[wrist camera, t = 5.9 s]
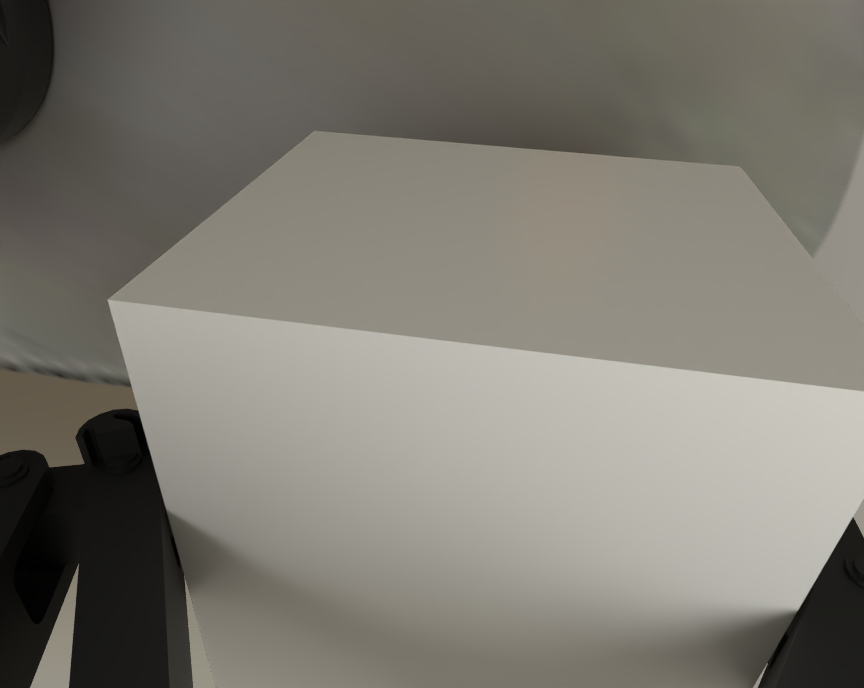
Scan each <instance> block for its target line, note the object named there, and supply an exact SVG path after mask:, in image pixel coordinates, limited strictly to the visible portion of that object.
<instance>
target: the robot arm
mask: <svg viewBox="0 0 864 688" xmlns="http://www.w3.org/2000/svg"><path fill="white" fill-rule="evenodd" d="M51 59H52V36H51V25H50V18H49V12H48V7H47V2H46V0H0V143H1V142H3V141H5V140H7V139H9V138H11V137H12V136H14V135H15V134H17V133H18V132H19V131H20V130H21V129H23V128H24V127H25V125H26V124H27V123H28V122H29V121H30V120H31V118H32V117H33V116H34V114H35V113H36V111H37V109H38V108H39V106H40V104H41V102H42V99H43V97H44V94H45V91H46V88H47V85H48V80H49V76H50V69H51ZM76 441H77V443H78V446H79V449H80V452H81V454H82V457H83V460H84V463H85V464H82V465H72V466H61V467H51V468H49V466H48V463H47V461H46V459H45V457H44V455H42V454H40V453H38V452H36V451H31V450H19V451H13V452H8V453H5V454H3V455H0V688H30V686H31V684H32V681H33V679H34V676H35V673H36V671H37V668H38V666H39V663H40V661H41V658H42V655H43V653H44V650H45V648H46V645H47V643H48V640H49V638H50V635H51V633H52V630H53V627H54V625H55V622H56V620H57V617H58V615H59V612H60V610H61V607H62V604H63V602H64V599H65V597H66V594H67V592H68V589H69V587H70V584H71V581H72V579H73V576H74V574H75V571H76V569H77V566H78V564H79V571H78V584H77V596H76V608H75V609H76V610H75V621H74V633H73V645H72V658H71V671H70V682H69V688H193V681H192V669H191V656H190V643H189V630H188V619H187V618H188V617H187V605H186V592H185V580H184V572H183V568H182V565H181V561H180V557H179V554H178V550H177V547H176V543H175V540H174V536H173V532H172V529H171V525H170V522H169V518H168V514H167V511H166V507H165V504H164V500H163V497H162V493H161V489H160V486H159V482H158V479H157V475H156V472H155V468H154V464H153V461H152V457H151V454H150V450H149V446H148V443H147V439H146V436H145V432H144V429H143V425H142V421H141V418H140V414H139V411H137V410H131V409H119V410H112V411H108V412H105V413H102V414H99V415H97V416H96V417H94V418H92V419H90V420H88V421H87V422H86V423H85V424H84V425H83V426H82V427H81V428H80V429H79V431H78V433H77V435H76ZM767 663H768V665H767V667H766V669H765V672H764V674H763V677H762V679H761V681H760V684H759V686H758V688H864V537H863V535H862V533H861V531H860V530H859V527H858V525H857V524H856V522H855V520H854V518H852V519H851V521H850V523H849V524H848V526H847V528H846V529H845V531H844V533H843V535H842V536H841V538H840V540H839V541H838V543H837V545H836V546H835V548H834V550H833V552H832V553H831V555H830V557H829V558H828V560H827V562H826V564H825V565H824V567H823V569H822V570H821V572H820V574H819V575H818V577H817V579H816V581H815V582H814V584H813V586H812V587H811V589H810V591H809V593H808V594H807V596H806V598H805V599H804V601H803V603H802V604H801V606H800V608H799V610H798V611H797V613H796V615H795V616H794V618H793V620H792V621H791V623H790V625H789V627H788V628H787V630H786V632H785V633H784V635H783V637H782V639H781V640H780V642H779V644H778V645H777V647H776V649H775V650H774V652H773V654H772V656H771V657H770V659H769V661H768V662H767Z"/></svg>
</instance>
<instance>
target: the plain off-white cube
mask: <svg viewBox="0 0 864 688" xmlns="http://www.w3.org/2000/svg"><path fill="white" fill-rule="evenodd" d="M108 303H109V307H110V310H111V314H112V318H113V321H114V325H115V328H116V332H117V335H118V339H119V343H120V346H121V350H122V353H123V357H124V361H125V364H126V368H127V371H128V375H129V378H130V382H131V386H132V389H133V393H134V396H135V400H136V403H137V407H138V411H139V414H140V418H141V421H142V425H143V429H144V432H145V436H146V439H147V443H148V446H149V450H150V454H151V457H152V461H153V464H154V468H155V472H156V475H157V479H158V482H159V486H160V489H161V493H162V497H163V500H164V504H165V507H166V511H167V514H168V518H169V522H170V525H171V529H172V532H173V536H174V540H175V543H176V547H177V550H178V554H179V557H180V561H181V565H182V568H183V572H184V575H185V579H186V582H187V586H188V590H189V593H190V596H191V600H192V604H193V608H194V611H195V614H196V618H197V621H198V625H199V628H200V633H201V636H202V639H203V643H204V647H205V651H206V654H207V658H208V661H209V664H210V668H211V672H212V675H213V679H214V683H215V686H216V688H753V686H754V685H755V683H756V681H757V679H758V678H759V676H760V674H761V673H762V671H763V669H764V668H765V666H766V664H767V662H768V661H769V659H770V657H771V656H772V654H773V652H774V650H775V649H776V647H777V645H778V644H779V642H780V640H781V639H782V637H783V635H784V633H785V632H786V630H787V628H788V627H789V625H790V623H791V621H792V620H793V618H794V616H795V615H796V613H797V611H798V610H799V608H800V606H801V604H802V603H803V601H804V599H805V598H806V596H807V594H808V593H809V591H810V589H811V587H812V586H813V584H814V582H815V581H816V579H817V577H818V575H819V574H820V572H821V570H822V569H823V567H824V565H825V564H826V562H827V560H828V558H829V557H830V555H831V553H832V552H833V550H834V548H835V546H836V545H837V543H838V541H839V540H840V538H841V536H842V535H843V533H844V531H845V529H846V528H847V526H848V524H849V523H850V521H851V519H852V518H853V516H854V514H855V512H856V511H857V509H858V507H859V506H860V504H861V502H862V500H863V499H864V324H863V322H862V321H861V320H860V319H859V317H858V316H857V315H856V313H855V312H854V311H853V310H852V308H851V307H850V306H849V304H848V303H847V302H846V301H845V299H844V298H843V297H842V296H841V294H840V293H839V292H838V291H837V289H836V288H835V287H834V285H833V284H832V283H831V282H830V280H829V279H828V278H827V276H826V275H825V274H824V273H823V271H822V270H821V269H820V268H819V266H818V265H817V264H816V262H815V261H814V260H813V259H812V257H811V256H810V255H809V253H808V252H807V251H806V250H805V248H804V247H803V246H802V245H801V243H800V242H799V241H798V239H797V238H796V237H795V236H794V234H793V233H792V232H791V231H790V229H789V228H788V227H787V225H786V224H785V223H784V222H783V220H782V219H781V218H780V216H779V215H778V214H777V213H776V211H775V210H774V209H773V208H772V206H771V205H770V204H769V202H768V201H767V200H766V199H765V197H764V196H763V195H762V194H761V192H760V191H759V190H758V188H757V187H756V186H755V185H754V183H753V182H752V181H751V180H750V178H749V177H748V176H747V174H746V173H745V172H744V171H743V169H742V168H741V167H738V166H726V165H714V164H702V163H691V162H679V161H667V160H655V159H643V158H631V157H619V156H608V155H596V154H584V153H572V152H560V151H548V150H536V149H525V148H513V147H501V146H489V145H477V144H465V143H453V142H442V141H430V140H418V139H406V138H394V137H382V136H370V135H359V134H347V133H335V132H323V131H314V132H312V133H311V134H310V135H309V136H307V137H306V138H305V139H304V140H303V141H301V142H300V143H299V144H298V145H296V146H295V147H294V148H293V149H292V150H290V151H289V152H288V153H287V154H285V155H284V156H283V157H282V158H281V159H279V160H278V161H277V162H276V163H274V164H273V165H272V166H271V167H269V168H268V169H267V170H266V171H265V172H263V173H262V174H261V175H260V176H258V177H257V178H256V179H255V180H254V181H252V182H251V183H250V184H249V185H247V186H246V187H245V188H244V189H243V190H241V191H240V192H239V193H238V194H236V195H235V196H234V197H233V198H232V199H230V200H229V201H228V202H227V203H225V204H224V205H223V206H222V207H221V208H219V209H218V210H217V211H216V212H214V213H213V214H212V215H211V216H209V217H208V218H207V219H206V220H205V221H203V222H202V223H201V224H200V225H198V226H197V227H196V228H195V229H194V230H192V231H191V232H190V233H189V234H187V235H186V236H185V237H184V238H183V239H181V240H180V241H179V242H178V243H176V244H175V245H174V246H173V247H172V248H170V249H169V250H168V251H167V252H165V253H164V254H163V255H162V256H161V257H159V258H158V259H157V260H156V261H154V262H153V263H152V264H151V265H149V266H148V267H147V268H146V269H145V270H143V271H142V272H141V273H140V274H138V275H137V276H136V277H135V278H134V279H132V280H131V281H130V282H129V283H127V284H126V285H125V286H124V287H123V288H121V289H120V290H119V291H118V292H116V293H115V294H114V295H113V296H112V297H110V298H109V299H108Z"/></svg>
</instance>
